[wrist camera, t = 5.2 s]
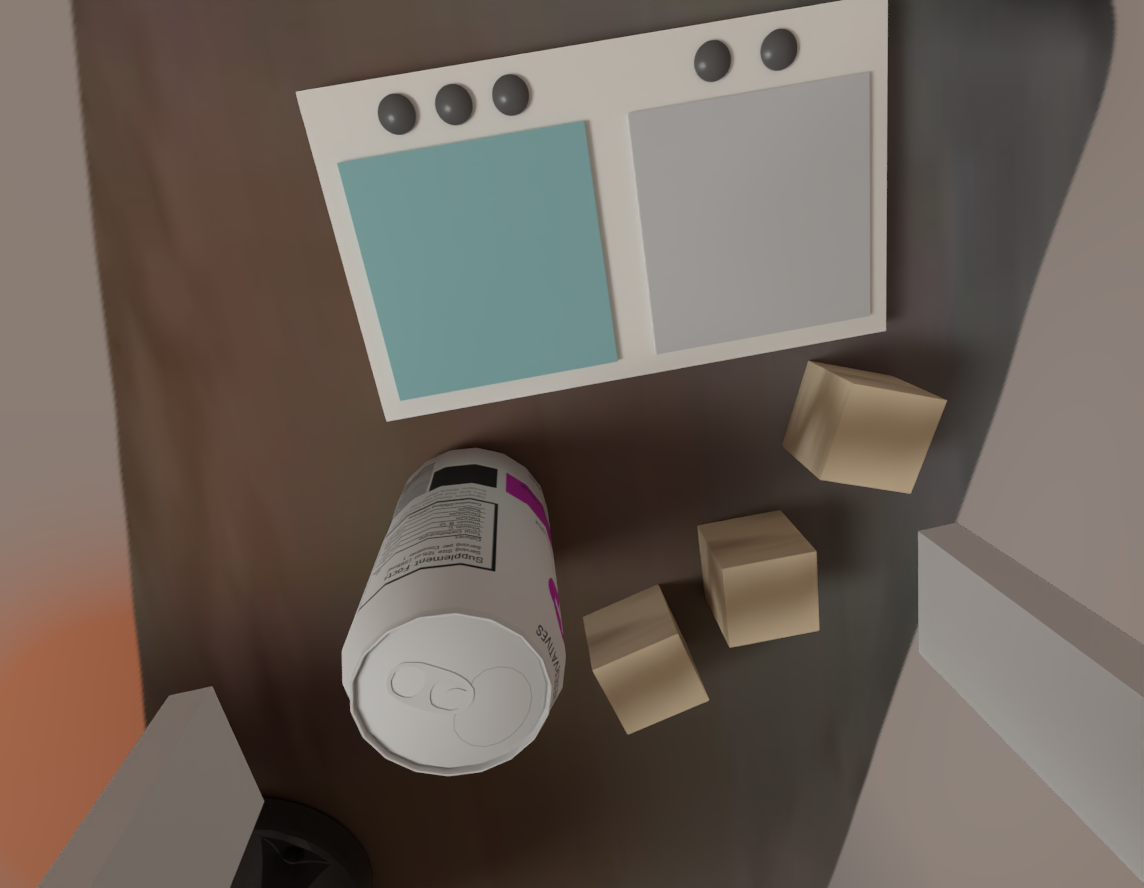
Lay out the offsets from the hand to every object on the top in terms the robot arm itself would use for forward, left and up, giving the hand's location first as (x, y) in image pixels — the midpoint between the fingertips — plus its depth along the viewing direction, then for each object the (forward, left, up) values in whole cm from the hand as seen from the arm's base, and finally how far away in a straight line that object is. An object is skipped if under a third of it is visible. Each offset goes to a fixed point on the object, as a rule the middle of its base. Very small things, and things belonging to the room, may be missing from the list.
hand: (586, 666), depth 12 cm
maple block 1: (-17, -3, -24) cm, 30 cm away
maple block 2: (-13, -10, -24) cm, 29 cm away
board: (+7, -5, -24) cm, 25 cm away
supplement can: (-7, +5, -24) cm, 26 cm away
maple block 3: (-5, -16, -24) cm, 29 cm away
